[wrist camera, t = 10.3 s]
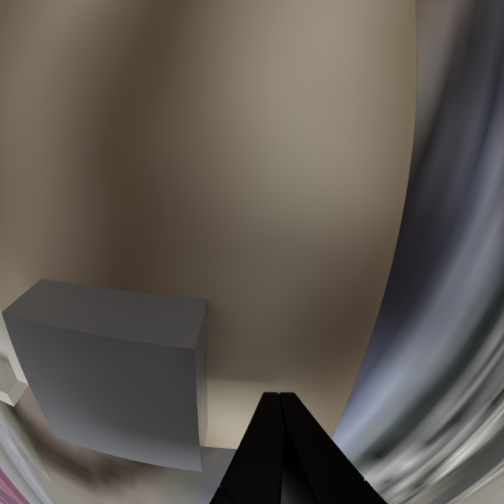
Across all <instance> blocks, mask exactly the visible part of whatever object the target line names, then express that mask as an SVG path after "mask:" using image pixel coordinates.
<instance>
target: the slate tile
mask: <svg viewBox="0 0 504 504" xmlns="http://www.w3.org/2000/svg"><path fill="white" fill-rule="evenodd" d="M207 301H208V299H201V298H190V297H180V296H170V295H160V294H151V293H142V292H133V291H125V290H117V289H109V288H101V287H93V286H86V285H79V284H72V283H65V282H58V281H52V280H45V279H40V280H39V281H38V282H37V283H35V284H34V285H33V286H32V287H31V288H29V289H28V290H27V291H26V292H25V293H23V294H22V295H21V296H20V297H19V298H18V299H16V300H15V301H14V302H13V303H12V304H11V305H9V306H8V307H7V308H6V309H5V310H4V311H3V312H2V316H3V319H4V322H5V325H6V328H7V331H8V334H9V337H10V340H11V342H12V345H13V348H14V350H15V353H16V356H17V358H18V361H19V363H20V365H21V368H22V370H23V373H24V375H25V377H26V379H27V382H28V384H29V386H30V388H31V390H32V392H33V395H34V397H35V399H36V401H37V403H38V405H39V407H40V409H41V411H42V412H43V414H44V416H45V418H46V420H47V422H48V424H49V425H50V427H51V429H52V431H53V432H54V434H55V436H56V438H59V439H62V440H65V441H68V442H70V443H73V444H76V445H79V446H83V447H86V448H89V449H92V450H96V451H99V452H103V453H106V454H110V455H114V456H118V457H122V458H126V459H130V460H135V461H139V462H144V463H149V464H154V465H159V466H165V467H171V468H178V469H185V470H192V471H201V472H202V466H203V458H204V450H205V442H206V434H207V427H208V412H207Z"/></svg>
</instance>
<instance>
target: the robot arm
mask: <svg viewBox="0 0 504 504" xmlns="http://www.w3.org/2000/svg"><path fill="white" fill-rule="evenodd" d="M209 504H388V503H387V502H386V501H385V500H384V499H383V498H382V497H381V496H380V495H379V494H378V493H377V492H376V491H375V490H374V489H373V488H372V486H371V485H370V484H369V483H368V482H367V481H366V480H365V481H364V477H363V476H362V475H361V474H360V473H359V471H358V470H357V469H356V468H355V467H354V465H353V464H352V463H351V462H350V461H349V460H348V458H347V457H346V456H345V455H344V454H343V452H342V451H341V450H340V449H339V447H338V446H337V445H336V444H335V443H334V441H333V440H332V439H331V438H330V436H329V435H328V434H327V433H326V432H325V430H324V429H323V428H322V427H321V425H320V424H319V423H318V422H317V420H316V419H315V418H314V417H313V415H312V414H311V413H310V411H309V410H308V409H307V408H306V406H305V405H304V404H303V403H302V401H301V400H300V399H299V397H298V396H297V395H296V394H295V393H294V392H280V393H278V392H263V394H262V396H261V398H260V400H259V403H258V405H257V407H256V409H255V412H254V414H253V416H252V418H251V420H250V423H249V425H248V427H247V429H246V431H245V433H244V436H243V438H242V440H241V442H240V444H239V446H238V448H237V450H236V452H235V455H234V457H233V459H232V461H231V463H230V465H229V467H228V469H227V471H226V473H225V475H224V477H223V479H222V481H221V483H220V485H219V487H218V488H217V490H216V492H215V494H214V496H213V498H212V500H211V502H210V503H209Z"/></svg>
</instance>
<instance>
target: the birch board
mask: <svg viewBox="0 0 504 504" xmlns="http://www.w3.org/2000/svg"><path fill="white" fill-rule="evenodd" d="M417 67H418V50H417V20H416V5H415V0H1V2H0V310H1V314H2V312H3V311H4V310H5V309H6V308H7V307H8V306H9V305H11V304H12V303H13V302H14V301H15V300H16V299H18V298H19V297H20V296H21V295H22V294H23V293H25V292H26V291H27V290H28V289H29V288H31V287H32V286H33V285H34V284H35V283H37V282H38V281H39V280H40V279H45V280H52V281H58V282H65V283H72V284H79V285H86V286H93V287H101V288H109V289H117V290H125V291H133V292H142V293H151V294H160V295H170V296H180V297H190V298H201V299H208V301H207V412H208V427H207V434H206V442H205V446H206V447H217V448H230V449H237V448H238V446H239V444H240V442H241V440H242V438H243V436H244V433H245V431H246V429H247V427H248V425H249V423H250V420H251V418H252V416H253V414H254V412H255V409H256V407H257V405H258V403H259V400H260V398H261V396H262V394H263V392H278V393H280V392H294V393H295V394H296V395H297V396H298V397H299V399H300V400H301V401H302V403H303V404H304V405H305V406H306V408H307V409H308V410H309V411H310V413H311V414H312V415H313V417H314V418H315V419H316V420H317V422H318V423H319V424H320V425H321V427H322V428H323V429H324V430H325V432H326V433H327V434H328V435H329V436H330V438H332V436H333V433H334V431H335V429H336V427H337V425H338V422H339V420H340V418H341V415H342V413H343V411H344V408H345V406H346V404H347V401H348V399H349V396H350V394H351V391H352V389H353V386H354V384H355V381H356V378H357V376H358V373H359V370H360V368H361V365H362V362H363V359H364V356H365V354H366V351H367V348H368V345H369V342H370V339H371V336H372V333H373V329H374V326H375V323H376V320H377V317H378V313H379V310H380V306H381V303H382V300H383V296H384V292H385V289H386V285H387V281H388V277H389V273H390V269H391V265H392V261H393V257H394V253H395V248H396V244H397V239H398V234H399V230H400V225H401V219H402V214H403V209H404V203H405V197H406V191H407V185H408V178H409V171H410V164H411V156H412V147H413V138H414V127H415V114H416V98H417ZM2 317H3V316H2ZM3 320H4V319H3ZM4 323H5V322H4ZM5 326H6V325H5ZM6 329H7V328H6ZM7 332H8V331H7ZM8 335H9V334H8ZM9 338H10V337H9ZM10 341H11V340H10ZM11 344H12V342H11ZM12 346H13V345H12ZM13 349H14V348H13ZM14 352H15V350H14ZM15 354H16V353H15ZM16 357H17V356H16ZM17 359H18V358H17ZM18 362H19V361H18ZM19 364H20V363H19ZM20 366H21V365H20ZM21 369H22V368H21ZM22 371H23V370H22ZM23 374H24V373H23ZM24 376H25V375H24ZM25 378H26V377H25ZM26 380H27V379H26ZM27 383H28V382H27ZM28 385H29V384H28ZM29 387H30V386H29ZM30 389H31V388H30ZM31 391H32V390H31ZM32 393H33V392H32ZM36 402H37V401H36ZM37 404H38V403H37Z"/></svg>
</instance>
